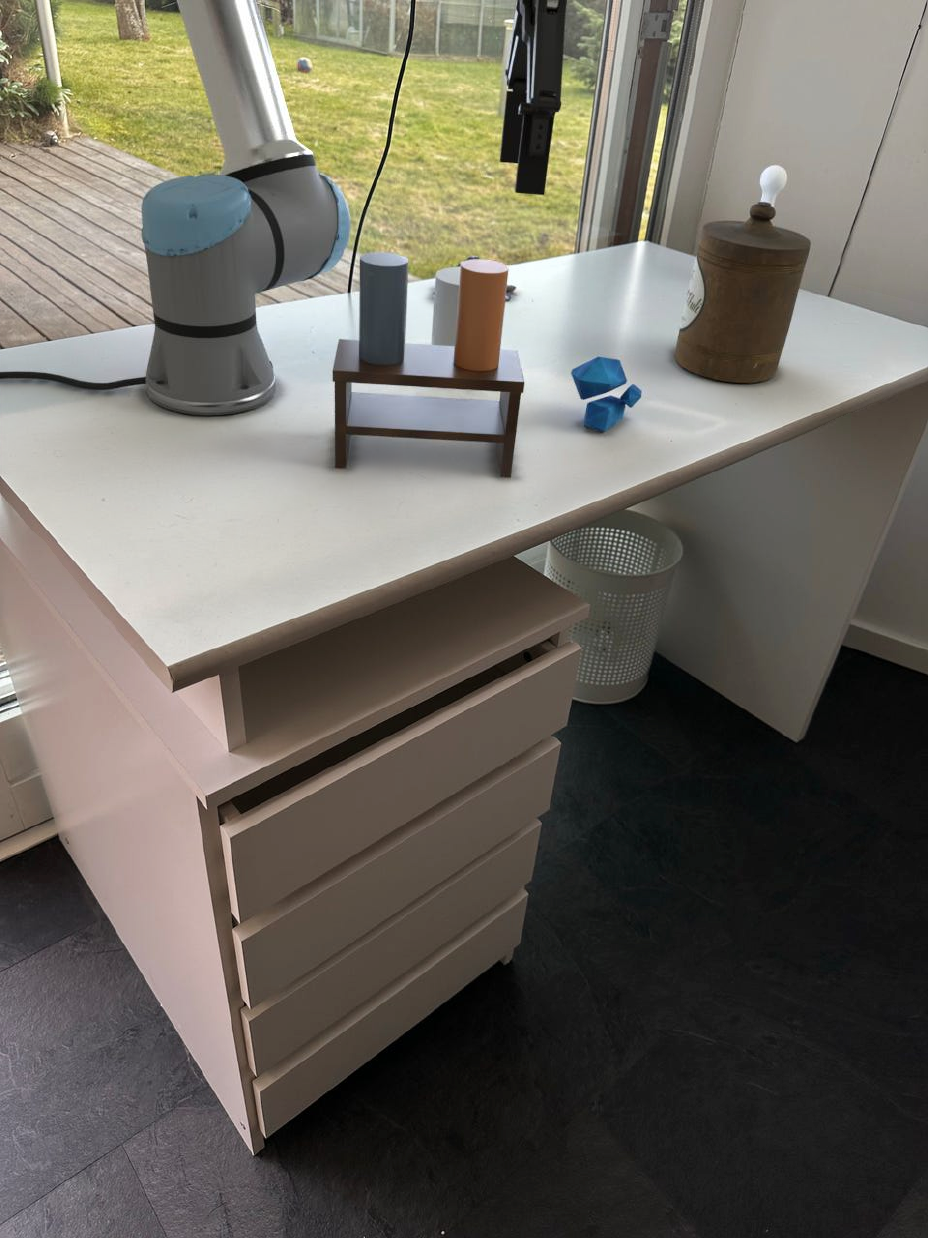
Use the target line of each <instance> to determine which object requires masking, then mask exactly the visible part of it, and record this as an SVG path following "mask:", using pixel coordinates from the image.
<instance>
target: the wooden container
mask: <svg viewBox="0 0 928 1238" xmlns="http://www.w3.org/2000/svg"><path fill="white" fill-rule="evenodd" d="M776 214H777V211H776V209H775V206H774V207H772V206H771V204H770V203H767V202H760V201H758V202H757V203H755V204H753V205H751V206H750V209H749V218H748V219H747V220H746V221H743V220H717V221H716V220H715V221H710V222H706V223H705V224H703V225H702V228H701V231H700V236H699V240H698V243H697V244H698V245H697V250H696V251H697V252H696V256H695V260H694V264H693V268H692V272H691V277H690V282H689V285H688V289H687V292H686V297H685V302H684V306H683V310H682V316H681V320H680V325H679V329H678V336H677V340H676V345H675V349H674V356H673V357H674V359H675V361H676V363H677V364H678V365H680V366H681V367H682V368H684V369H686V370H687V371H689V372H691V373H693V374H695V375H698V376H701V377H703V378H708V379H711V380H715V381H720V382H726V383H737V384H753V383H755V384H756V383H760V382H761V383H762V382H765V381H768V380H770V379H772V378H774V376H775V375H776V374H777V371H778V368H779V364H780V361H781V359H782V353H783V350H784V346H785V343H786V341H787V336H788V333H789V330H790V325H791V322H792V320H793V319H792V318H793V315H794V310H795V305H796V302H797V298H798V294H799V291H800V287H801V284H802V279H803V275H804V271H805V267H806V265H807V261H808V258H809V256H810V252H811V246H812V241H811V239H809V238H808V237H806V236H805V235H803V234H801V233H800V232H799V233H798V232H796V231H793V230H790V229H788V228H787V229H786V228H784V227H780V226H776V225H774V224H773V223H772V220H773V219H774V218H775V217H776Z"/></svg>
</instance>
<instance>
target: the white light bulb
mask: <svg viewBox="0 0 928 1238" xmlns="http://www.w3.org/2000/svg"><path fill="white" fill-rule="evenodd" d="M787 181H788V175H787V171H786V170H785V168H784V167H782V166H781V165H778V164H775V165H773V164H772V165H770V166H767V167H766V168H765V169H764V170H763V171H762V172H761V174H760V177H759V186H760V189H761V198H760V201H759V202H767V203H770V204H771V206H772V207H774V208H775V203H776V199H777V196H778V194H779V193H780V192H781V191H782V190H783V189H784V188H785V186H786V184H787Z"/></svg>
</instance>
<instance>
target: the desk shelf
mask: <svg viewBox="0 0 928 1238" xmlns="http://www.w3.org/2000/svg"><path fill="white" fill-rule="evenodd" d="M454 348H455V346H440V345H431V344H421V343H410V342H409V343H408V342H405V357H404V360H403V361H402V362H400V363H398V364H394V365H374V364H370V363H367V362H364V361H363V360H361V359H360V358H359V339H343V338H339V339H338V341H337V347H336V352H335V356H334V357H335V358H334V362H333V366H332V382H333V383H334V468H335V469H347V464H348V458H349V452H350V445H351V437H352V436H363V437H364V436H365V437H381V438H382V437H384V438H400V439H415V440H416V439H417V440H418V439H419V440H434V441H435V440H436V441H455V442H468V443H469V442H472V443H487V444H488V443H490V444H495V450H496V456H497V463H498V470H499V471H498V472H499V476H500V477H501V478H511V477H512V473H513V464H514V457H515V456H514V455H515V449H516V448H515V447H516V439H517V431H518V424H519V416H520V415H519V414H520V407H521V400H522V399H521V398H522V394H523V393H524V389H525V379H524V375H523V370H522V366H521V361H520V356H519V352H518V350H515V349H501V348H500V356H499V365H498V367H497V368H495V369H493V370H489V371H471V370H466V369H463V368H461V367H459V366H457V365H456V364H455V363H454ZM353 384H365V385H366V384H367V385H381V386H382V385H383V386H384V385H386V386H399V387H416V388H432V389H448V390H449V389H450V390H467V391H480V392H481V391H483V392H499V399H498V400H494V399H478V398H477V399H476V398H475V399H474V398H461V397H443V396H427V395H425V396H424V395H409V394H393V393H377V392H360V391H359V392H358V391H352V390H353V389H352V386H353Z"/></svg>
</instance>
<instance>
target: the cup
mask: <svg viewBox="0 0 928 1238" xmlns="http://www.w3.org/2000/svg"><path fill="white" fill-rule="evenodd" d="M434 275H435V278H434V291H433V292H434V295H433V298H434V299H433V310H432V311H433V313H432V329H431V344H430V345H440V346H455V335H456V321H457V308H458V294H459V281H460V267H456V266H450V267H444V268H440V269H439V270H437V271H436V272H435V274H434Z"/></svg>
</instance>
